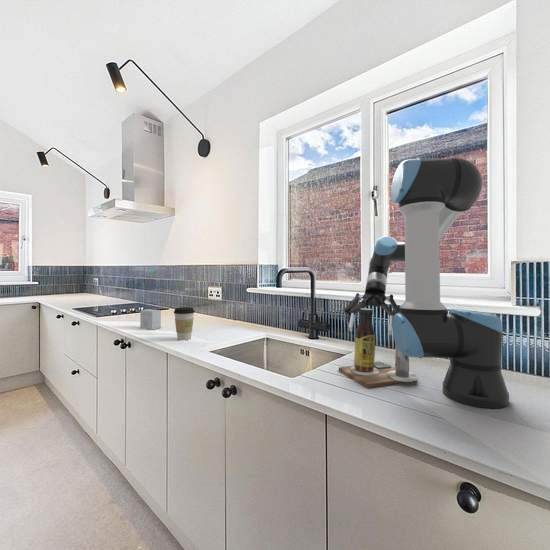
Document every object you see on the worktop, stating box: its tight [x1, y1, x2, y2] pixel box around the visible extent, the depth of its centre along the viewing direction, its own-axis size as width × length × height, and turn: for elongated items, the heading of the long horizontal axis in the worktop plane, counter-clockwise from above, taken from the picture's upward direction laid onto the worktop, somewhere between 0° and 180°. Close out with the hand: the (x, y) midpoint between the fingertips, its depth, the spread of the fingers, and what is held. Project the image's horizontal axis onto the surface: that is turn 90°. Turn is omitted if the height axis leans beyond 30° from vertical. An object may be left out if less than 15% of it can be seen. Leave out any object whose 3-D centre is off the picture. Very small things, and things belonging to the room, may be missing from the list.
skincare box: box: [139, 308, 162, 330], centre depth 178 cm, size 10×6×10 cm, turn 60°
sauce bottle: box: [353, 307, 376, 372], centre depth 100 cm, size 7×6×20 cm
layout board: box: [338, 360, 419, 389], centre depth 98 cm, size 18×18×2 cm
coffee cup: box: [173, 306, 196, 341], centre depth 150 cm, size 10×10×15 cm
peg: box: [394, 341, 410, 378], centre depth 95 cm, size 4×4×14 cm
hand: (369, 331), depth 109 cm, fingers open, 13 cm apart
